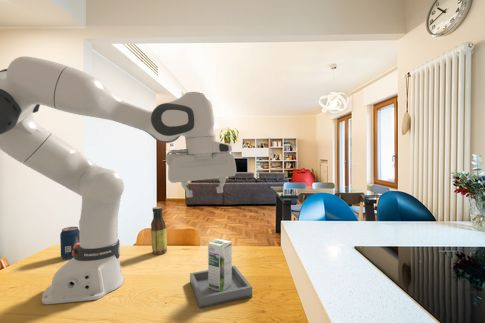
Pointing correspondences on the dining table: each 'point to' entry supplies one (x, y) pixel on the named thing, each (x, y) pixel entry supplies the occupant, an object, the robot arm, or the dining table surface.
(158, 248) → the sauce bottle
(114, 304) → the dining table surface
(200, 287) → the tray
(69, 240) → the soda can
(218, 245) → the syrup box
